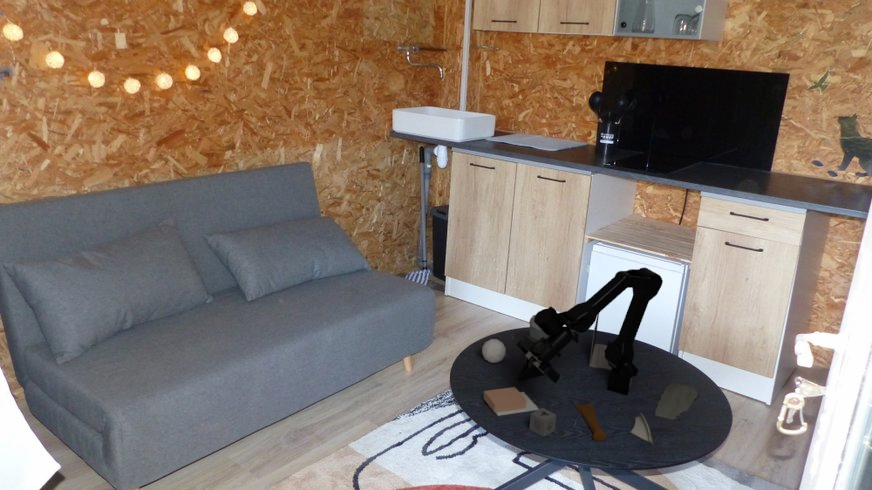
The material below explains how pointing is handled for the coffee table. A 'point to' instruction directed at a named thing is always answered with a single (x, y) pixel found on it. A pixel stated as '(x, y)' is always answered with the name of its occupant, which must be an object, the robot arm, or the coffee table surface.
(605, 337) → the coffee table surface
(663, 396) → the stone slab
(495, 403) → the tile
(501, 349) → the geometric ball
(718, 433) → the coffee table surface
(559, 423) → the coffee table surface
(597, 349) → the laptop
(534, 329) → the disposable coffee cup
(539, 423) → the dice cube
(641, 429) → the ceramic fragment
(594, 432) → the primitive tool
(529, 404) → the mat
